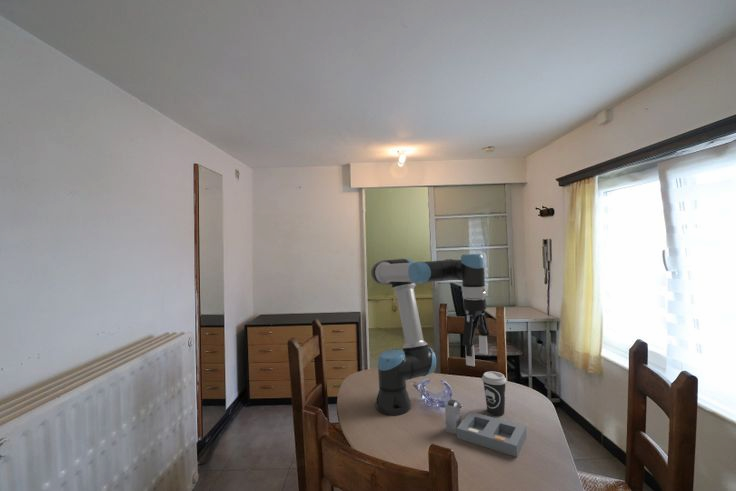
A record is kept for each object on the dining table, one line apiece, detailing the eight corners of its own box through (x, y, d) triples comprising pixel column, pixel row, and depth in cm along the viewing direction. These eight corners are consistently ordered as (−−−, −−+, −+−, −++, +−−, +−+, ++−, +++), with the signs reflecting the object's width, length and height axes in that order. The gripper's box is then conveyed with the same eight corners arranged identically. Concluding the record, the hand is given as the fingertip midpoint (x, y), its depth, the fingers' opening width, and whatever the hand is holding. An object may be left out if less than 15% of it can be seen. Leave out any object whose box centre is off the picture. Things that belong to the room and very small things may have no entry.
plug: (446, 431, 123) (444, 402, 123) (450, 426, 126) (449, 398, 126) (456, 434, 120) (455, 404, 120) (460, 429, 123) (459, 400, 124)
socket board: (457, 438, 118) (456, 427, 118) (471, 420, 129) (470, 411, 129) (517, 457, 106) (516, 445, 106) (526, 436, 117) (526, 425, 117)
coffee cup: (510, 418, 130) (508, 380, 130) (485, 417, 132) (483, 379, 132) (505, 406, 139) (503, 371, 139) (481, 405, 141) (480, 370, 141)
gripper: (472, 304, 103) (476, 373, 103) (495, 293, 123) (498, 351, 123) (449, 303, 108) (453, 368, 107) (475, 293, 128) (478, 348, 127)
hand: (477, 359), depth 115 cm, fingers open, 13 cm apart
